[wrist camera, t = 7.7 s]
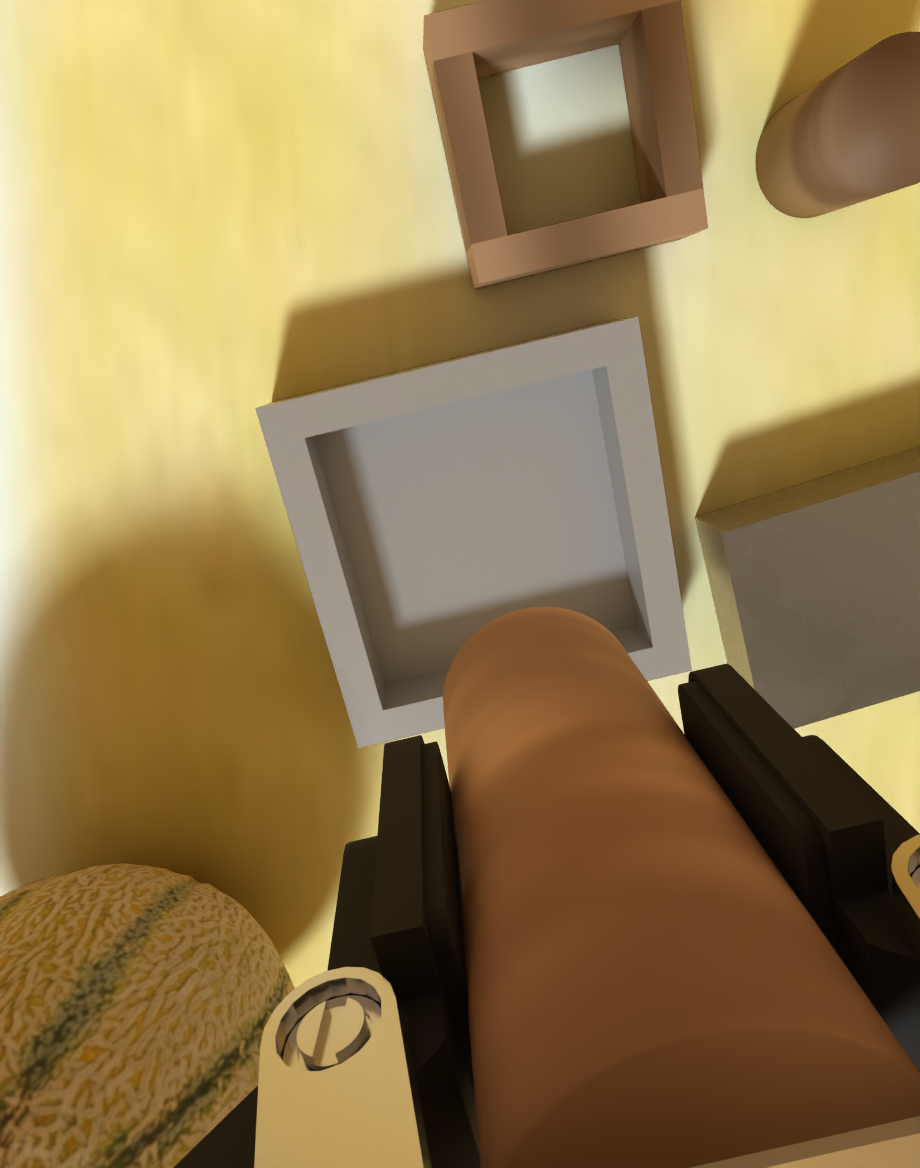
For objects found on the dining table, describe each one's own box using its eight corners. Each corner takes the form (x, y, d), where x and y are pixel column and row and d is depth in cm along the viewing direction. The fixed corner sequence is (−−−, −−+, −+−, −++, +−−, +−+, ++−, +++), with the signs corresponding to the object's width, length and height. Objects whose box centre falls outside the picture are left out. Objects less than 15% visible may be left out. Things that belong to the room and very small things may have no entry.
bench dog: (861, 81, 24) (969, 16, 20) (869, 203, 26) (973, 170, 21) (749, 108, 25) (830, 50, 20) (761, 229, 26) (841, 202, 21)
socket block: (648, -7, 23) (674, -47, 21) (680, 239, 26) (707, 228, 23) (423, 49, 24) (424, 15, 21) (473, 289, 26) (479, 283, 23)
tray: (616, 319, 26) (638, 316, 24) (668, 642, 30) (691, 670, 27) (271, 402, 26) (255, 408, 24) (363, 713, 30) (358, 748, 27)
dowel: (618, 586, 14) (954, 977, 5) (649, 759, 15) (969, 1321, 6) (422, 632, 14) (435, 1093, 5) (466, 802, 15) (538, 1416, 6)
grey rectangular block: (955, 432, 28) (1015, 441, 26) (977, 627, 31) (1035, 656, 28) (691, 514, 29) (721, 533, 26) (732, 701, 31) (764, 737, 28)
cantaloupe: (221, 1124, 36) (89, 1650, 21) (-89, 986, 32) (-488, 1492, 18) (402, 896, 32) (392, 1330, 18) (80, 719, 29) (-240, 1074, 15)
